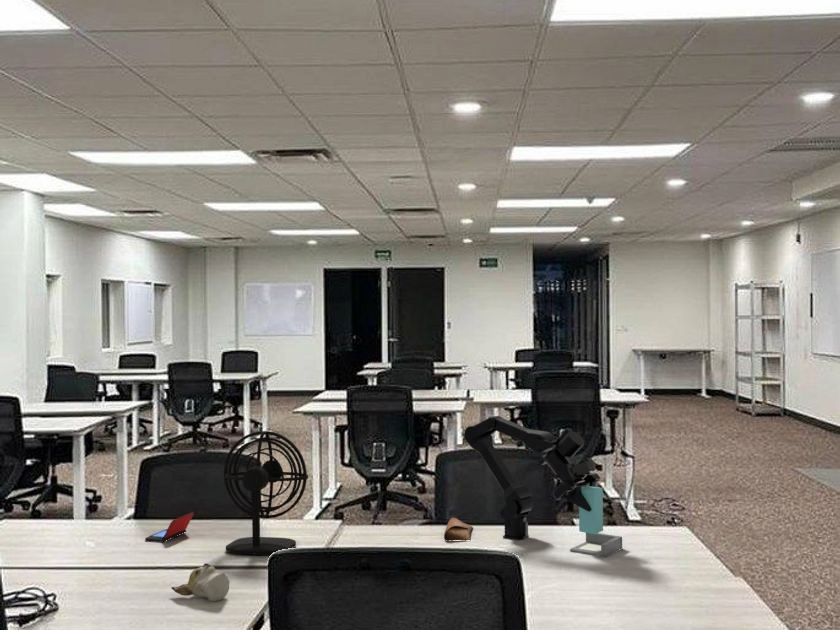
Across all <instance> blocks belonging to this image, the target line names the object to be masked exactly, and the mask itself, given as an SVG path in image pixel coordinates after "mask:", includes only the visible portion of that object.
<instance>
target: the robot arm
mask: <svg viewBox="0 0 840 630" xmlns="http://www.w3.org/2000/svg"><path fill="white" fill-rule="evenodd" d="M496 432H498V433H501V434H503V435H505V436H508V437H511V438H512V439H515V440H518V441H520V442H522V443H523V444H524V445H525V447H526V448H528V449H530V450H531V451H532V452H534V453H535V454H540V453H545V452H546V454H543V455H540V456H539V458H540V459H539V465H540V466H543V465H548V467H549V468H550V469H551V470H552V472H553V474H555V475H554V478H555V480H560V483H559V484H558V485H557V486H556V488H554V490H552V496H553V497H554V499H555V500H556V501H561V500H563V501H565V502H569V503H571V504H573V505H574V506H578V508H579V507H581V508H583V509H584V510H586V511H588V512H590V511H591V510H592V509H591V507H590V505H589V504H588V502H587V501H586V499H585V498H584V496H583V495H582V493H581V488H583V487H586V486H591V487H596V485H597V483H598V482H599V481H600V480H601V479H602V478H601V476H600V475H599V474H598V473H597V472H596V473H595V472H594V471H596V466H597V463H596V461H594V459H593V458H591V457H588V458H585V459H584V460H583V462H581V463H579V464H577V463H576V462H571V461H570V459H568V458H573V457H574V456H575V455H576V453H577V452H578V451H580V449H582V447H583V446H584V445H585V440H584V438H583V436H582V435H580V434H579V433H577V432H575V431H573V430H572V429H571V428H565V430H564V431H563V432H562V433H561V435H560V436H559V437H558V436H554V434H552V433H551V432H549V431H544V430H539V429H538V430H537V429H530V428H527V427H526V426H523V425H520V424H518V423H516V422H513V421H511V420H508V419H506V418H504V417H502V416H501V415H495V416H489V417H488V418H486V419H485V420H483V421H481V422H479V423H477V424H474V425H470V426H467V427H466V428H465V430H464V434H463V438H464V439H465V442H466V443H467V444H468V445H469V446H470V447H471V448H472V450H474V451H476V452H477V453H479V454H480V455H481V457H482V459H483V461H484V462H485V464H486V465H487V467H488V469H489V470H490V472H491V474H492V475H493V476H494V479H495V480H496V481H497V483H498V485H499V487H501V489H502V493H503V500H504V503H505V506H503V508H502V509H501V510H500V511H499V514H500V517H501V519H503V520H504V535H502V538H503V539H504V538H505V539H514V540H515V539H516V540H524V539H525V538H527V537H528V536H529V521H527V517H528V516H529V515H530V513H531V511H532V509H533V507H534V498H533V495H534V494H532V493H531V492H530V490H529V488H528V486H527V485H526V484H522V485H520V484H518V483H517V482H516V480H515V478H514V476H513V474H512V473H511V472H510V470H509V469H508V467H507V466H506V464H505V462H504V461H503V459H502V457H501V456H500V454H499V453H498V451H497V450H496V448H495V446H494V442H493V441H494V440H493V438H494V437H493V434H494V433H496ZM587 473H588V474H587ZM564 496H565V497H564Z"/></svg>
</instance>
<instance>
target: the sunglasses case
mask: <svg viewBox="0 0 840 630" xmlns="http://www.w3.org/2000/svg"><path fill="white" fill-rule="evenodd" d="M473 529H474V527H473V526H472V525H471V524H467V523H465V522H462V521H461V520H459V518H458V519H457V518H456V517H450V519H449V520H448V523H447V525H446V527H445V530H444V534H443V539H444V541H445V542H447V541H446V540H470V541H471V534H472V531H473Z"/></svg>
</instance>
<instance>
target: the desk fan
mask: <svg viewBox="0 0 840 630" xmlns="http://www.w3.org/2000/svg"><path fill="white" fill-rule="evenodd" d="M257 435H260V436H259V438H257V439H254V440H251V441H248V442H246V443H244V444H242V445H241V446H240V447H239V448H238V446H239V445H240V444H241V443H242V442H244V441H245V440H247V439H248V438H251V437H253V436H257ZM270 436H274V437H277V438H273V437H270ZM282 440H283V441H282ZM254 443H258V445H257V450H256V451H255V452H252V453H251V452H250V453H249V454H247V455H246V456H244V457H243V458H242V459H241V460H240V458H241V455H242V454H243V452H245V450H246V449H247V448H248V447H249V446H251V445H253V444H254ZM263 443H267V446H268V447H264V448H262V445H263ZM272 445H274V446H276V447H278V448H279V449H277V448H275V447H272ZM236 448H238V449H237V450H236ZM287 449H288V450H287ZM235 450H236V451H235ZM266 450H268V453H267V452H264V451H266ZM234 451H235V452H234ZM273 451H276V452H278V453H279V454H281V455H282V456H283V457H284V458H285V459H286V460H287V461H288V464H289V468H290V471H284V470H283V467H282V464H281V463H280V462H279V460H278V459H277V458H276V457H274V456H273ZM233 453H234V454H233ZM291 454H292V455H291ZM261 455H265V456H267V457H269V460H267V461H265V462H264V463H263V464H262V466H261V464H260V463H261ZM250 456H251V457H250ZM255 456H256V466H255V465H254V466H253V467H251V468H250V464H251V462H252V460H253V459H254V457H255ZM292 456H293V457H292ZM249 457H250V458H249ZM247 458H249V460H248V462H247V464H246V469H245V470H246V471H239V470H240V467H241V466H242V464H243V462H244V461H245V460H246V459H247ZM239 460H240V462H239ZM296 465H297V466H296ZM232 468H233V469H232ZM297 469H298V470H297ZM285 476H290V477H285ZM223 479H224V480H223V481H224V486H225V489H226V491H227V493H228V495H229V498H230V500H232V502H233V503H234V504H235V505H236V507H238V508H239V509H240V510H241V511H242V512H243V513H245V514H247V515H249V516H251V517H252V518H251V519H252V520H251V521H252V523H251V524H252V526H251V527H252V529H251V530H252V531H251V532H252V535H251V536H246V537H239V538H237V539H235V540H232V541H231V542H230V543H228V544H227V545H226V546H225V552H228V553H230V554H231V553H232V554H238V555H242V554H243V555H262V556H268V555H271V554H272V553H273V552H276V551H278V550H282V549H288V548H292V547H293V548H294V547H296V545H297V540H295V539H291V538H288V537H276V536H275V537H271V536H261V519H267V520H268V519H275V518H278V517H281V516H283V515H285V514H287V513H288V512H290V511H291V510H292V509H293V508H295V507H296V506H297V505H298V504H299V502H300V501H301V498H302V497H303V495H304V492H305V490H306V487H307V481H308V479H309V474H308V471H307V465H306V462H305V459H304V457H303V454H302V452H301V451H300V450H299V448H298V447H297V446H296V444H294V442H293V441H291V440H290V439H289V438H287V437H286V436H285V435H283V434H280V433H278V432H275V431H268V430H262V431H260V430H259V431H254V432H251V433H249V434H246V435H245V436H243V437H241V438H240V439H239V440H237V442H235V443H234V445H233V446H232V447H231V448H230V450H229V452H228V453H227V456H226V459H225V462H224V467H223ZM233 481H234V484H235V487H236V489H235V488H234V484H233ZM239 481H241V482H242V485H243V487H244V489H245V490H246V491H248V492H251V497H250V496H248V495H247V494H246V493H245V492H244V491H243V489H242V488H241V486H240V482H239ZM277 482H281V483H280V487H279V489H278V491H277V492H276V493H275V494H273V492H274V484H275V483H277ZM284 482H289V483H288V485H287V486H286V488H285V489H284V490H283V491H282V489H283V486H284ZM292 482H293V486H292V489H291V492H290V493H289V495H288V497H287V498H286V500H284V501H283V502H282V503H281V504H279V505H275V506H272V504H273V503H272V502H273V500H274V499H275V498H276V497H278V496H280V495H282V494H284V493H286V491H287V490H288V489H289V488H290V486H291V484H292ZM268 485H269V494H266V493H264V492H261V491H262V490H264V489H265V488H267V486H268ZM300 488H301V489H300ZM236 490H237V492H238V493H239V495H240V496H241V498H242V499H244V501H243V500H242V499H241V498H240V496H239V495H238V493H237V492H236ZM299 490H300V492H299ZM298 492H299V494H298ZM297 494H298V496H297V498H296V500H295V501H294V502H293V503H292V504H291V505H290V506H288V508H287V509H285V510H283V511H281V512H278V513H276V514H270V512H274V511H277V510H279V509H281V508H282V507H284V506H286V505H288V504H289V503H290V502H291V501H292V500H294V498H295V496H296V495H297ZM261 497H266V498H268V499H265V500H262V499H261ZM245 501H246V502H245ZM247 503H248V504H247ZM263 503H268V504H267V506H263V505H262V504H263ZM293 548H292V549H293ZM272 555H273V554H272Z"/></svg>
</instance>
